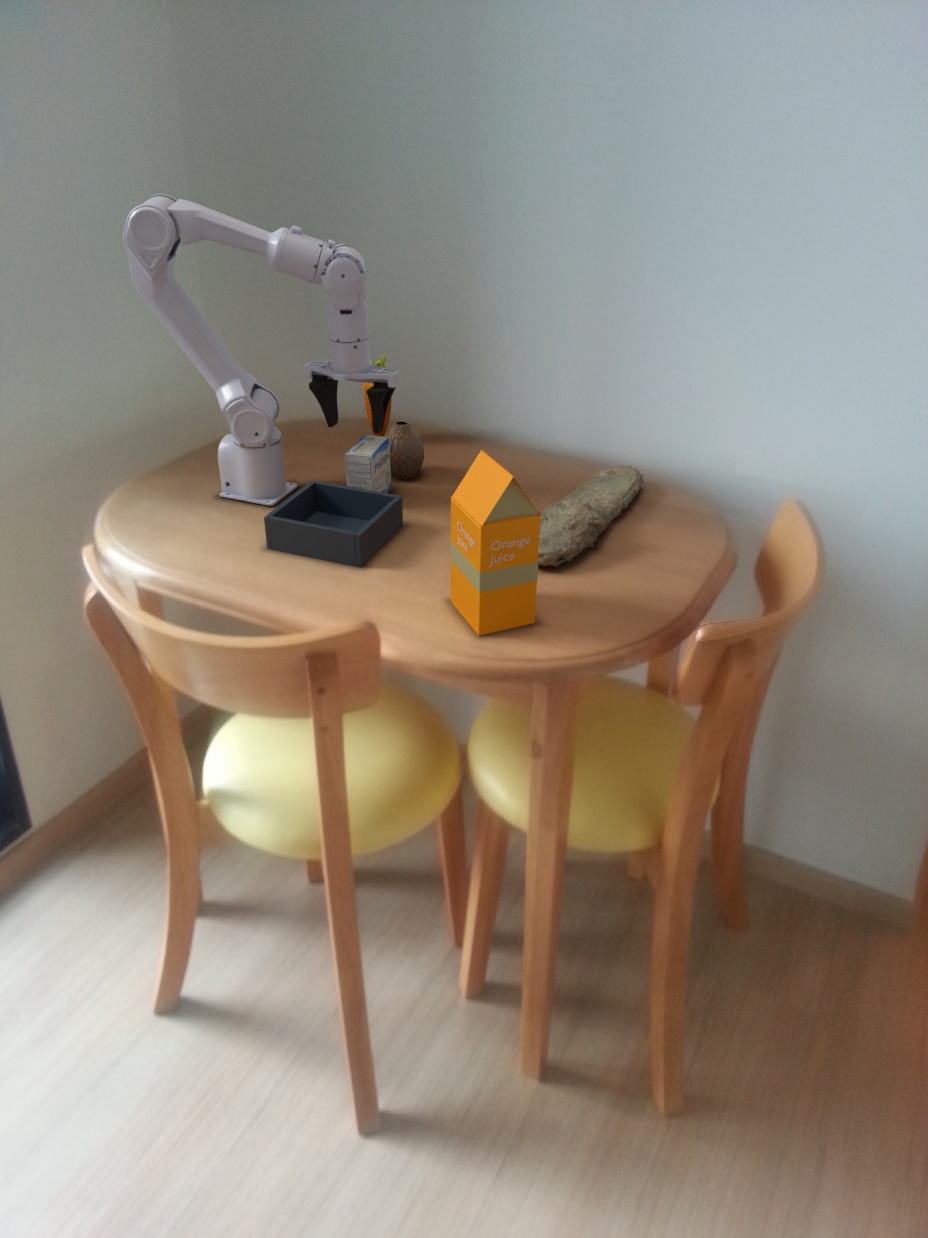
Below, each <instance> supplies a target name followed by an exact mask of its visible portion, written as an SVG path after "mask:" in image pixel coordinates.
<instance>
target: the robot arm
mask: <svg viewBox="0 0 928 1238" xmlns="http://www.w3.org/2000/svg"><path fill="white" fill-rule="evenodd" d="M203 241H210V242H213V243H216V244H219V245H223V246H227V247H230V248H232V249H233V248H234V249H236V250H240V251H243V252H247V253H250V254H254V255H257V256H260V257H263V258H265V260H266V261H267V263H268V264H269V266H270V268H271V269H272V270H273V271H275V272H279V273H282V274H285V275H287V276H291V277H292V278H293V277H294V278H296V279H300V280H302V281H305V282H308V283H311V284H314V285H322V286H323V287H324V289H325V290H326V299H327V304H326V307H325V309H326V319H327V330H328V342H329V343H328V344H329V356H330V357H329V358H330V361H313V360H310V361H309V362H307V363H305V364H304V365H303V367H304V377H305V378H307V379H308V378H309V379H311V381H310V382H309V383H308V389H309V390H310V391H311V393H312V395H313V396H314V397H315V399H316V400H317V402H318V404H319V406H320V408H321V410H322V413H323V416H324V419H325V422H326V425H327V427H328V428H333V427H335V426H337V424H339V408H338V387H339V381H341V382H344V381H346V382H354V383H362V384H363V383H371V384H374V386H372V387H371V388H369V389H368V390H367V395H368V398H369V402H370V406H371V412H372V427H373V432H374V433H376V434H378V433H379V432H381V431H382V430H383V428H384V421H385V416H386V412H387V408H388V405H389V402H390V399H391V400H392V398H393V395H394V392H395V390H396V389H397V387H398V386H399V385H400V383H401V379H400V371H399V370H395V369H389V368H387V367H386V368H382V367H379V366H375V365H376V364H373V365H372V364H371V362H370V358H371V348H370V330H369V316H368V315H369V314H368V304H367V302H366V298H367V293H366V289H365V283H366V263H365V259H364V257H363V256H362V254H361V253H360V252H359V251H358V250H357V249H355V248H354V247H352V246H351V245H349V244H348V243H340V244H336V243H337V242H336V241H335V240H333V239H328V242H327V241H324V240H322V239H319V238H316V237H313V236H310V235H308V234H304V233H302V227H299V226H297V225H292V226H291V228H287V227H284V226H283V227H280V228H278V229H277V230H275V231H272V232H270V231H267V230H265V229H262V228H260V227H257V226H255V225H252V224H250V223H247V222H246V221H242V220H241V219H237V218H235V217H233V216H229V215H227V214H225V213H222V212H220V211H218V210H217V211H216V210H214V209H212V208H209V207H206V206H204V205H201V204H199V203H196V202H194V201H191V200H188V199H183V198H179V199H178V200H177V199H176V198H175V197H173V196H171V195H168V194H165V193H157V194H153V195H151V196H149V197H147V199H146V200H145V201H144V202H143V203H141V204H138V205H137V206H135V207H134V208H132V209H131V210H130V211H129V213H128V215H127V217H126V219H125V225H124V230H123V234H122V242H123V245H124V247H125V249H126V253H127V260H128V265H129V271H130V277H131V282H132V285H133V287H134V289H135V290H136V291H137V293H138V294H139V296H140V297H141V298H142V299H143V301H144V302H145V303H146V304H147V306H148V307H149V308H150V310H151V311H152V312H153V314H154V315H155V316H156V317H157V319H158V320H159V321H160V322H161V324H162V325H163V326H164V328H165V329H166V330H167V332H168V333H169V334H170V336H171V337H172V338H173V339H174V341H175V342H176V343H177V345H178V346H179V348H181V350H182V351H183V352H184V354H185V355H186V356H187V358H188V359H189V360H190V361H191V363H192V364H193V365H194V367H195V368H196V369H197V371H198V372H199V373H200V374H201V375H202V377H203V378H204V380H205V381H206V382H207V383H208V385H209V386H210V387H211V389H212V390H213V391H214V393H215V395H216V399H217V402H218V405H219V408H220V411H221V412H222V414H223V415H224V416H225V418H226V419H227V422H228V426H229V430H230V433H228V434H226V435H224V436H223V437H222V439H221V441H220V442H219V444H218V448H217V463H218V471H219V477H220V479H219V480H220V485H221V491H220V492H219V497H221V498H225V499H231V500H235V501H236V500H237V501H242V502H247V503H252V504H258V505H263V506H269V507H273V506H275V505H276V504H277V503H279V502H280V501H281V500H282V499H284V498H285V497H287V496H288V495H289V494H291V493H292V492H293V491H294V490H296V489H297V488H298V484H297V483H294V482H288V481H286V480H287V479H286V469H285V468H286V467H285V457H284V448H283V438H282V432H281V431H280V430H279V428H278V427H277V425H276V424H275V423H276V420H277V418H278V416H279V413H280V403H279V399H278V398H277V396H276V395H275V393H274V392H273V391H272V390H271V389H269V388H267V387H265V386H263V385H262V384H261V383H260V382H259V381H258V380H257V379H256V377H254V375H252V374H251V373H249V372H247V371H245V370H244V369H243V368H242V366H241V365H240V364H239V362H238V361H237V360H236V358H235V357H234V356H233V355H232V353H231V352H230V351H229V349H228V348H227V347H226V345H225V344H224V343H223V341H222V340H221V338H220V337H219V336H218V335H217V333H216V332H215V330H214V329H213V328H212V326H211V325H210V324H209V322H208V321H207V320H206V319H205V317H204V316H203V314H202V313H201V311H199V308H197V306H196V305H195V304H194V302H193V301H192V300H191V298H190V297H189V296H188V294H187V293H186V292H185V290H184V289H183V287H182V286H181V285H180V284H179V282H178V281H177V279H176V278H175V277H174V270H175V263H176V257H177V250H178V248H179V246H181V247H184V246H185V247H186V246H188V245H192V244H196V243H200V242H203ZM373 432H372V433H373Z"/></svg>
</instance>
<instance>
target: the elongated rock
mask: <svg viewBox="0 0 928 1238" xmlns="http://www.w3.org/2000/svg"><path fill="white" fill-rule="evenodd" d="M643 483H644V475H643V474H642V473H640V470H639V469H638V468H635V467H632V465H627V466H624V465H616V466H613V467H610V468H603V469H601V470H599V471H597V472H596V473H594V474H593V476H592V477H590V478H588V479H587V480H586V481H584V482H582V483H581V484H580V485H578V486H577V487H576V488H575V489H574V490H573V491H572V492H571V493H569V494H567V495H566V496H565V497H562V498H561V499H559V500H558V501H555V502H553V503H550V504H548V505H546V507H545V508H543V510H541V513H540V515H541V516H540V534H539V552H538V566H543V567H546V566H552V567H557V566H559V565H561V564H563V563H564V562H566V561H567V562H570V561H572V560H573V558H575V557H578V556H579V554H580V553H582V552H583V551H584V550H585V549H587V548H593V547H595V545H594V542H595V541H598V536H599V535H600V534H601V533H602V532H604V531H605V530H606V529H607V528H608V526H609V525H610V524H611V522H612V521H613V519H615V518H617V517H618V516H619V515H621V513H622V510H623V509H627V508H628V506H629V504H631V502H632V500H633V499H634V498H635V497H636V496H637V495H638V494H639V491H640V490H641V486H642V484H643Z"/></svg>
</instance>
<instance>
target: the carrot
mask: <svg viewBox="0 0 928 1238" xmlns="http://www.w3.org/2000/svg"><path fill="white" fill-rule="evenodd" d="M386 360H387V356H386V355H385V354H382V355H381V357H380V360H379V359H378V360H376V363H375V364H374V362H373V359H372V358H371V357H370V362H371V364H372V365H375V366H379V367H382V368H386V369H387V366H386V365H385V363H386ZM372 386H374V384H371V383H363V382H362V390H363V401H364V403H363V404H364V408H365V409H364V410H365V414H366V418H367V422H368V424H369V427H370V430H371V432H372V434H373V436H381V437H385V435H386V432H387V430H388V427H389V424H390V418H391V413H392V398H391V399H390V402H389V405H388V408H387V412H386V416H385V421H384V428H383V430H382V431H381V432H379V433H378V434H376V433H374V432H373V427H372V412H371V406H370V402H369V398H368V395H367V390H368V389H369V388H371V387H372Z"/></svg>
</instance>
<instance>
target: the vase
mask: <svg viewBox="0 0 928 1238" xmlns="http://www.w3.org/2000/svg"><path fill="white" fill-rule="evenodd" d="M385 437H388V438H389V442H390V468H391V478H394V479H398V480H408V479H412V478H414V477H415V476H417V474H418V473H419V472H420V471H421V469H422V467H423V464H424V461H425V460H424V459H425V449H424V444H423V442H422V440H421V438H420V436H419V435H418V433H417V432H416V431H415V430H414V429H413V427H412V425H411V423H410V422H409V421H408V420H404V419H403V420H402V419H401V420H395V421H394V423H393V425H392V427H391V428H390V430H389V431H388V432H387V434H385Z"/></svg>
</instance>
